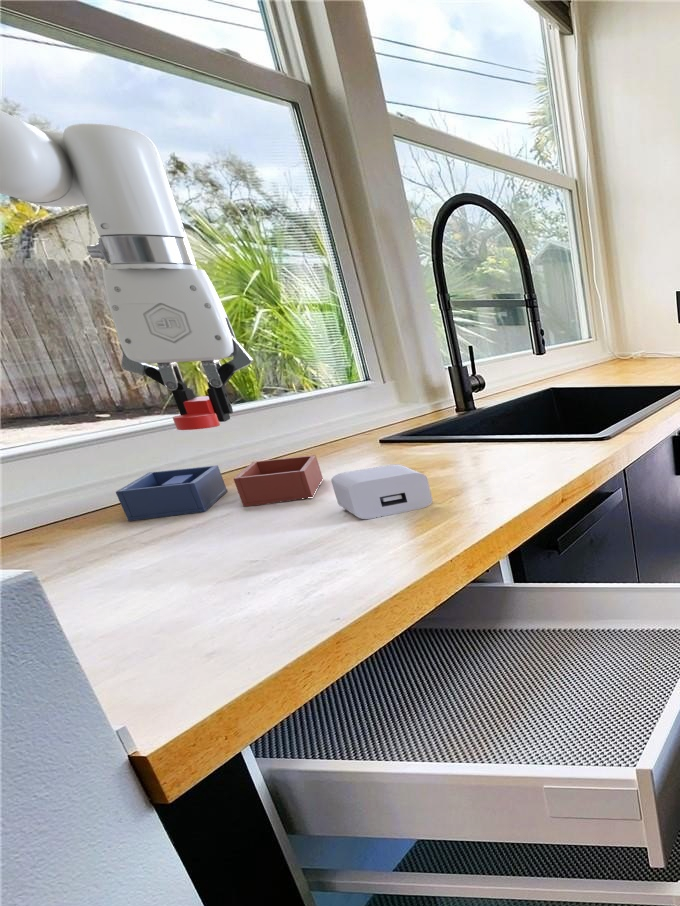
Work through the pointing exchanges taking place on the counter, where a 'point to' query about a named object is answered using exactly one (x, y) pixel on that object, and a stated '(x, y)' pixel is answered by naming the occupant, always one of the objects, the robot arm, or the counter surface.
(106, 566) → the counter surface
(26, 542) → the counter surface
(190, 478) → the navy stepped block
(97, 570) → the counter surface
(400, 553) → the counter surface
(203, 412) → the red stamp
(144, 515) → the navy bin
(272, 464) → the red bin
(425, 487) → the charger
